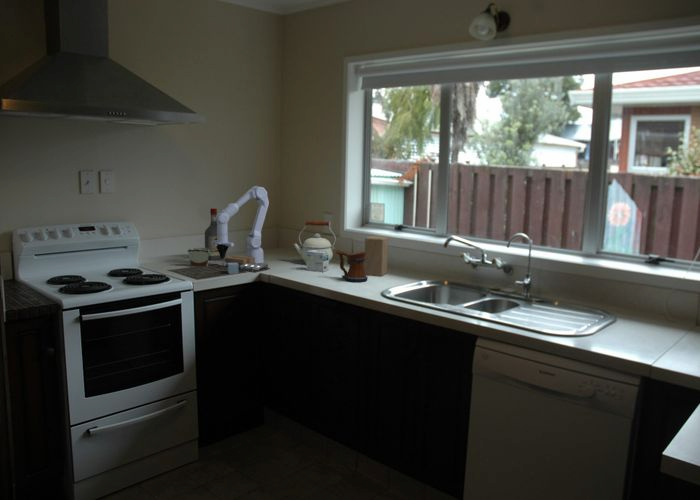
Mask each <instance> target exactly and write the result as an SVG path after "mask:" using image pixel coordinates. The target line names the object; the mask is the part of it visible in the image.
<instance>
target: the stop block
mask: <svg viewBox="0 0 700 500" xmlns="http://www.w3.org/2000/svg"><path fill="white" fill-rule="evenodd" d="M227 273H229V274H228V275H236V274H237V275H239V270H238V263H228V269H227Z"/></svg>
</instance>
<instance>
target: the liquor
mask: <svg viewBox="0 0 700 500" xmlns="http://www.w3.org/2000/svg"><path fill="white" fill-rule="evenodd" d="M217 214H218V209H217V208H213V207H212V208H210V223H209V226H208V227H206V229H205V231H204V248H208V249H209V251H210V253H209V255H208V261H211V260H214V261H222V260H223V259H222V258H220V254H219V251H218V249H217V248H216V246H218V245H215V244H212V241H217V220H216V216H217ZM221 259H222V260H221Z"/></svg>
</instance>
